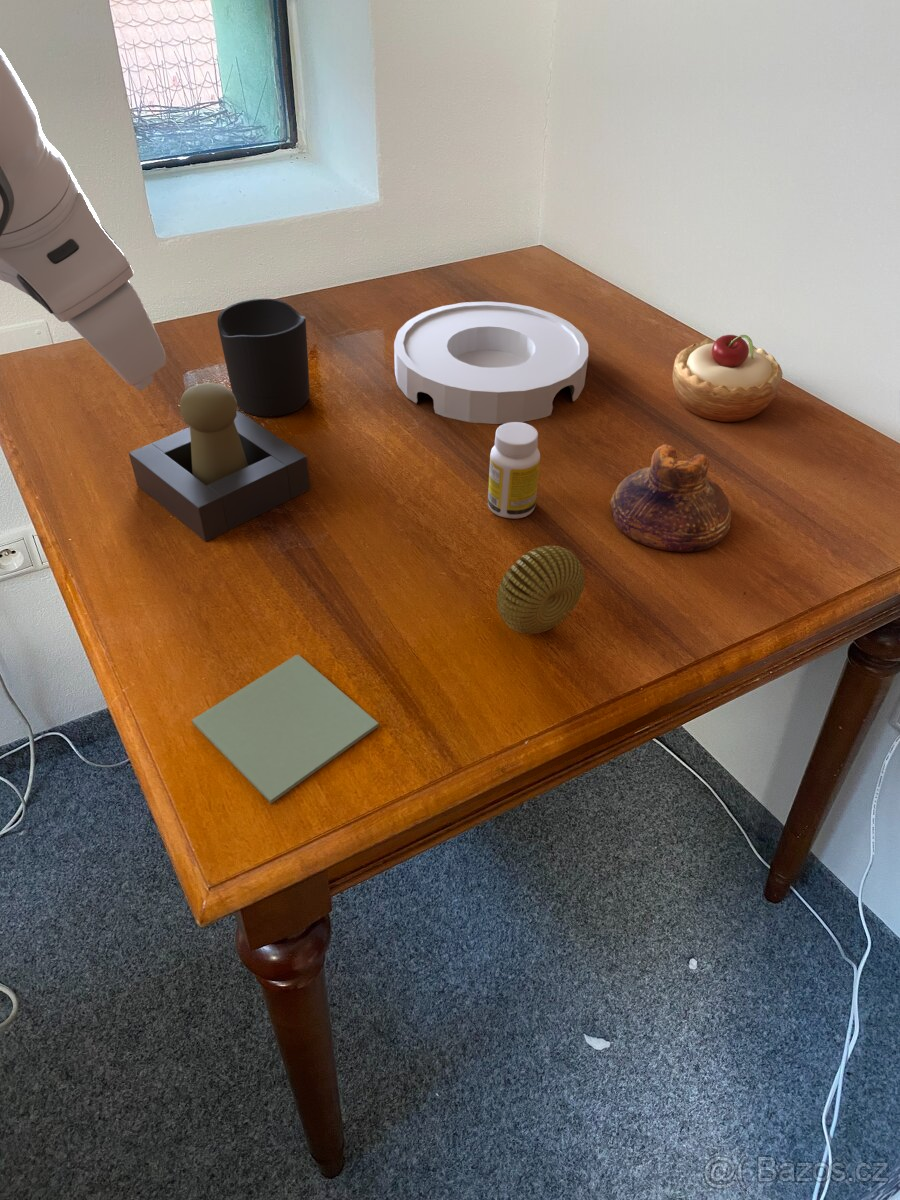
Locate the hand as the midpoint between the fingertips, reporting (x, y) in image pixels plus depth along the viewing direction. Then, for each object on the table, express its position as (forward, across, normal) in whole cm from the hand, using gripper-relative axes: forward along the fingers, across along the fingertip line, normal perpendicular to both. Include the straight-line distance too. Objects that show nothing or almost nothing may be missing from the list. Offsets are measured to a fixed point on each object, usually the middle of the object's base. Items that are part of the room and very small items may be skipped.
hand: (113, 351), depth 76 cm
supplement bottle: (+18, +28, +21) cm, 39 cm away
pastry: (+29, +30, +52) cm, 67 cm away
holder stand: (+16, +6, +1) cm, 17 cm away
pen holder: (+23, -4, +13) cm, 27 cm away
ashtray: (+28, +8, +36) cm, 46 cm away
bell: (+20, +39, +31) cm, 54 cm away
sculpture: (+12, +41, +12) cm, 44 cm away
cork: (+16, +7, +1) cm, 17 cm away
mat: (+6, +35, -10) cm, 37 cm away
